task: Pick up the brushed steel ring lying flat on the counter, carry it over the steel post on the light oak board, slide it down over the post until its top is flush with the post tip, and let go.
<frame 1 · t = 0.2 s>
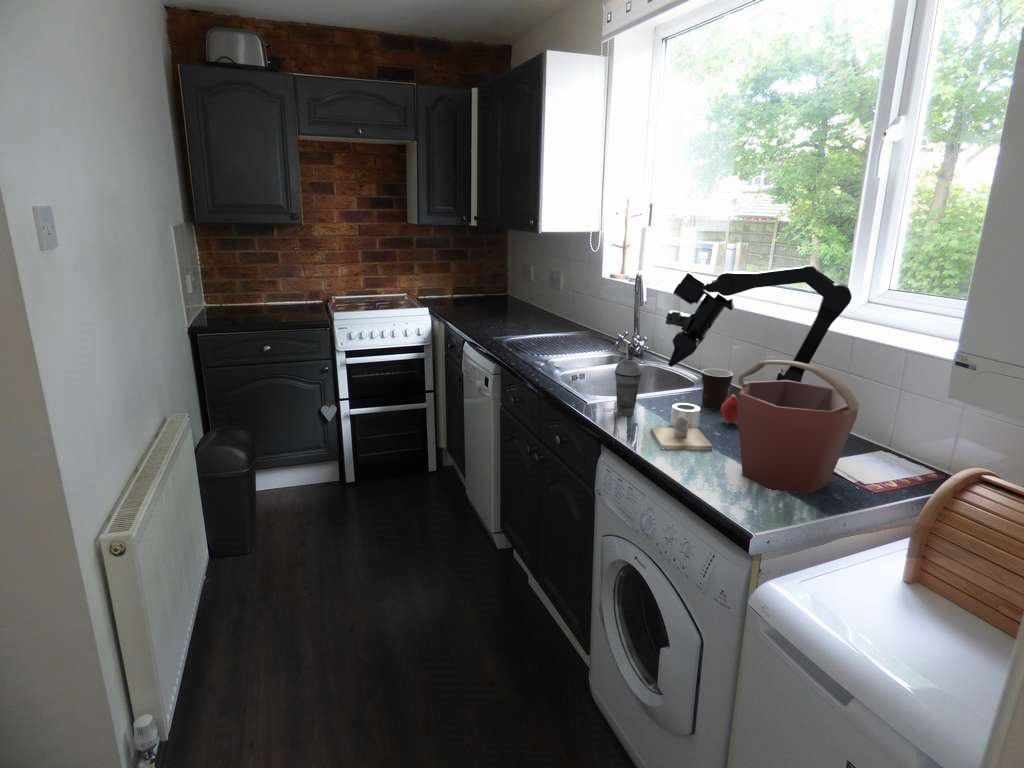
hand: (672, 362, 170), 15 cm above the worktop, tool tilted 30°, fingers open, 9 cm apart
bucket: (784, 476, 134), on the worktop
post board: (680, 440, 153), on the worktop
onion: (730, 424, 166), on the worktop
coffee mug: (715, 405, 182), on the worktop
beverage cup: (625, 413, 173), on the worktop
steel ring: (684, 425, 164), on the worktop
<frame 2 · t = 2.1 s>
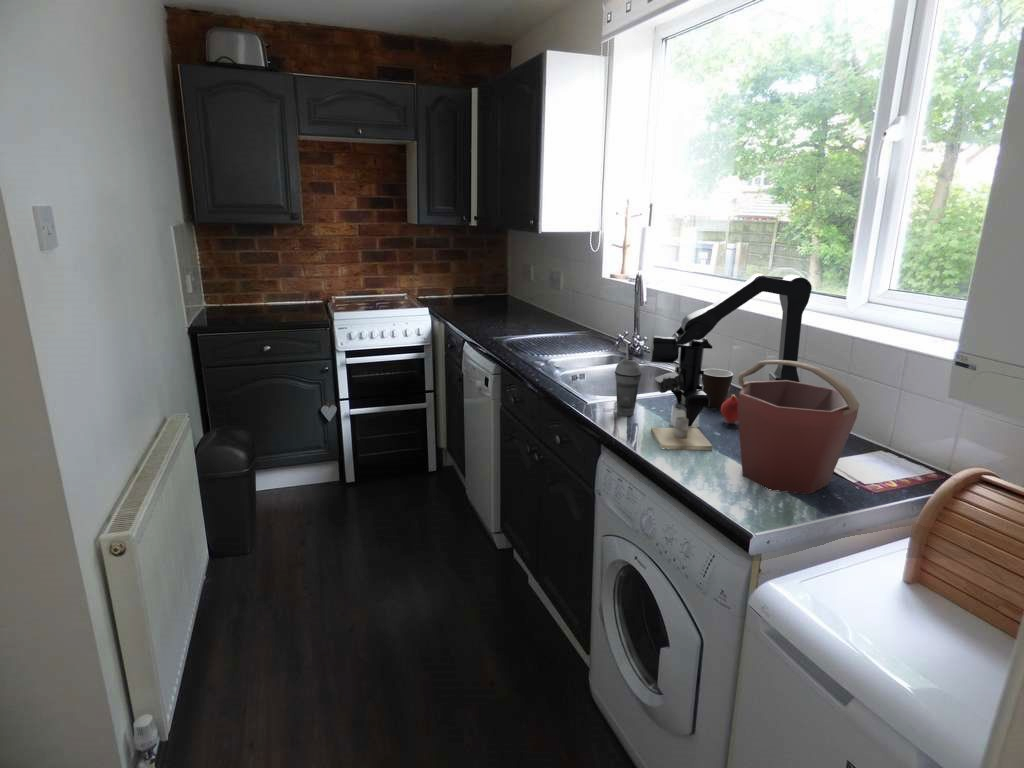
hand: (684, 421, 164), 1 cm above the worktop, tool pointing down, fingers closed on steel ring, 7 cm apart
steel ring: (684, 425, 164), on the worktop, touching gripper
everything else where it was.
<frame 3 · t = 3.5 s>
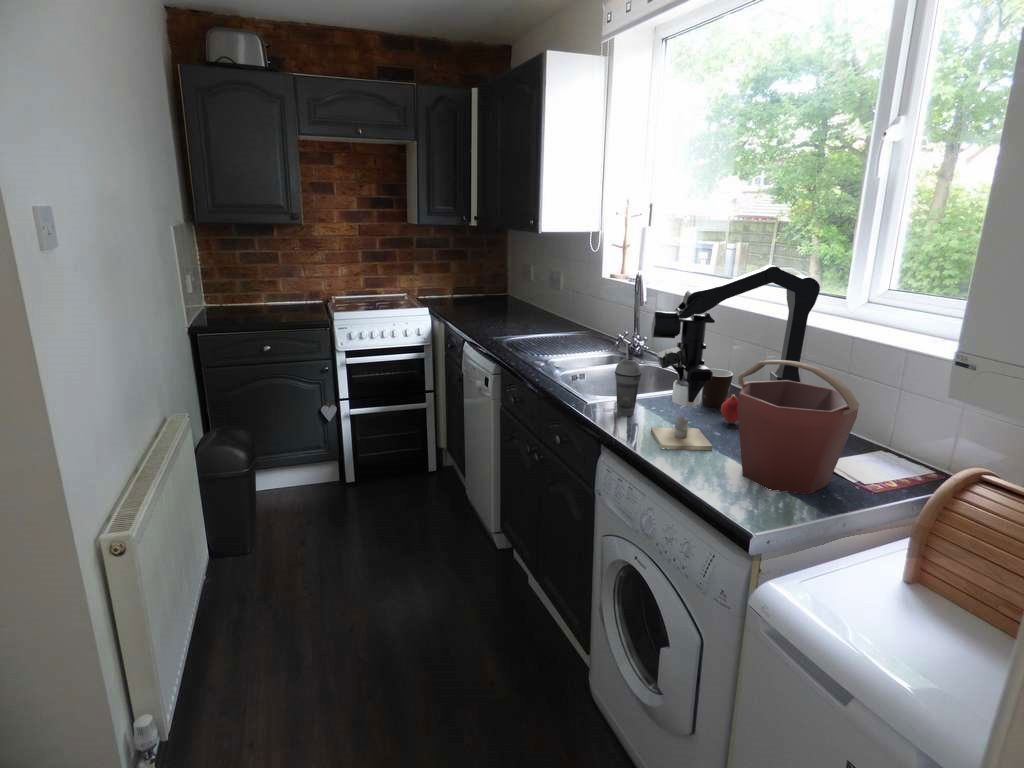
hand: (686, 397, 162), 8 cm above the worktop, tool pointing down, fingers closed on steel ring, 7 cm apart
steel ring: (686, 401, 162), point 7 cm above the worktop, touching gripper
everything else where it was.
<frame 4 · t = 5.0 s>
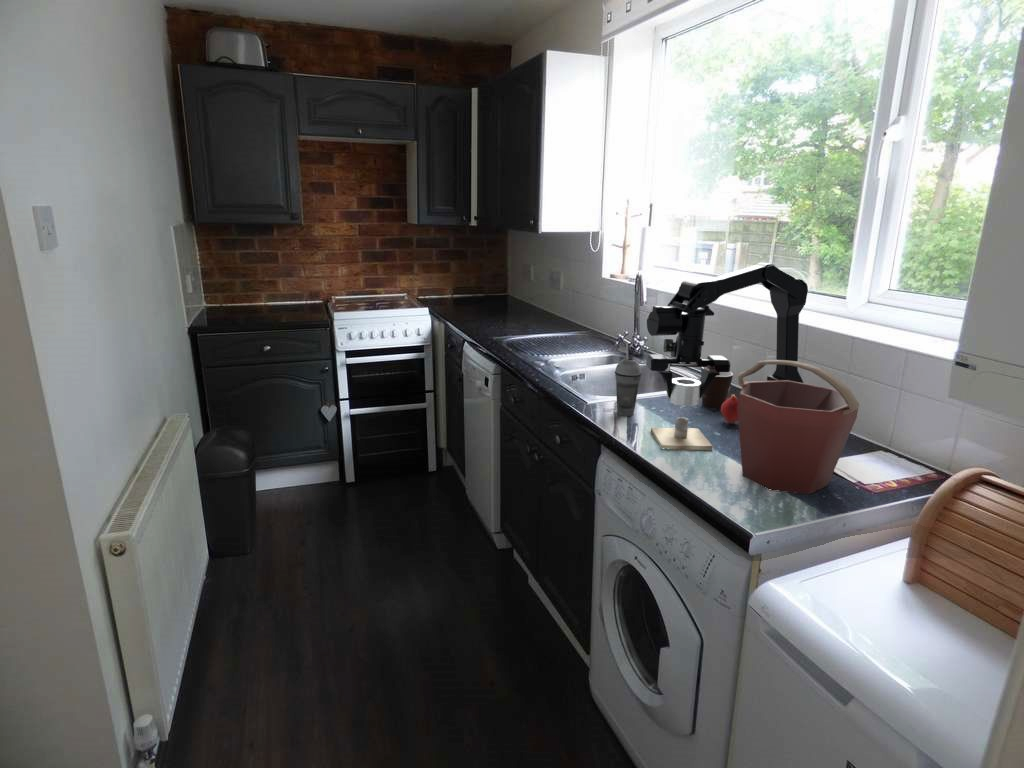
hand: (684, 397, 151), 11 cm above the worktop, tool pointing down, fingers closed on steel ring, 7 cm apart
steel ring: (683, 401, 151), point 10 cm above the worktop, touching gripper
everything else where it was.
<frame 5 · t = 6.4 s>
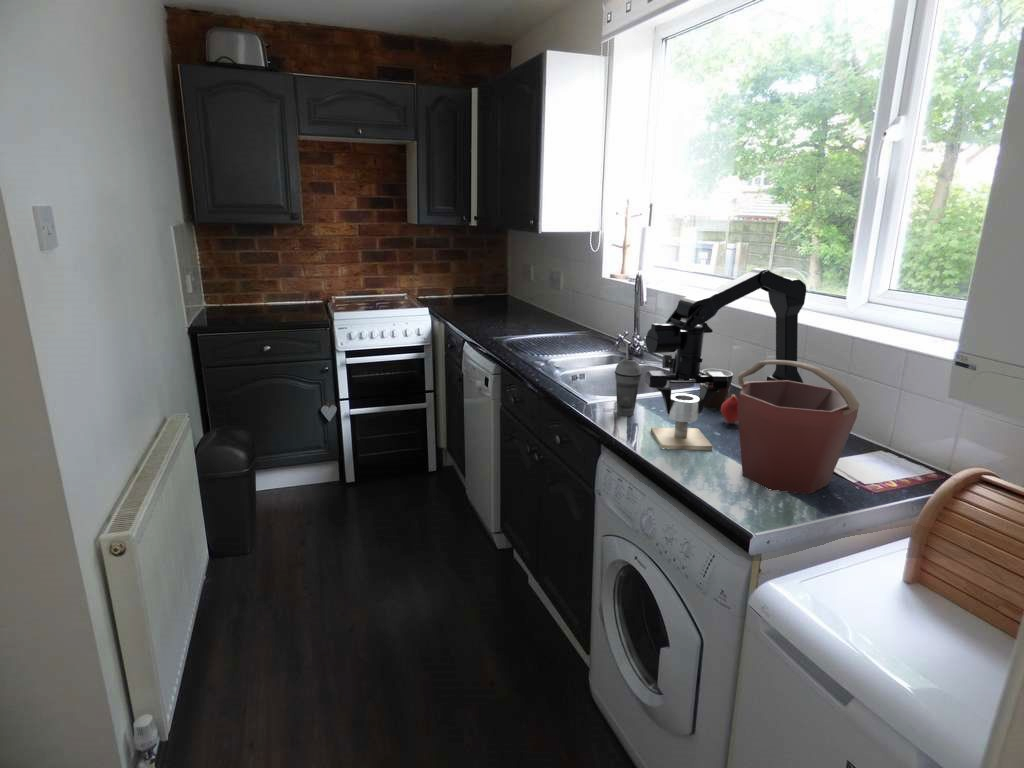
hand: (683, 413, 152), 7 cm above the worktop, tool pointing down, fingers closed on steel ring, 7 cm apart
steel ring: (682, 417, 152), point 6 cm above the worktop, touching gripper
everything else where it was.
when the fingers open (4 cm above the worktop, at t = 7.7 s): steel ring drops 2 cm, resting on post board.
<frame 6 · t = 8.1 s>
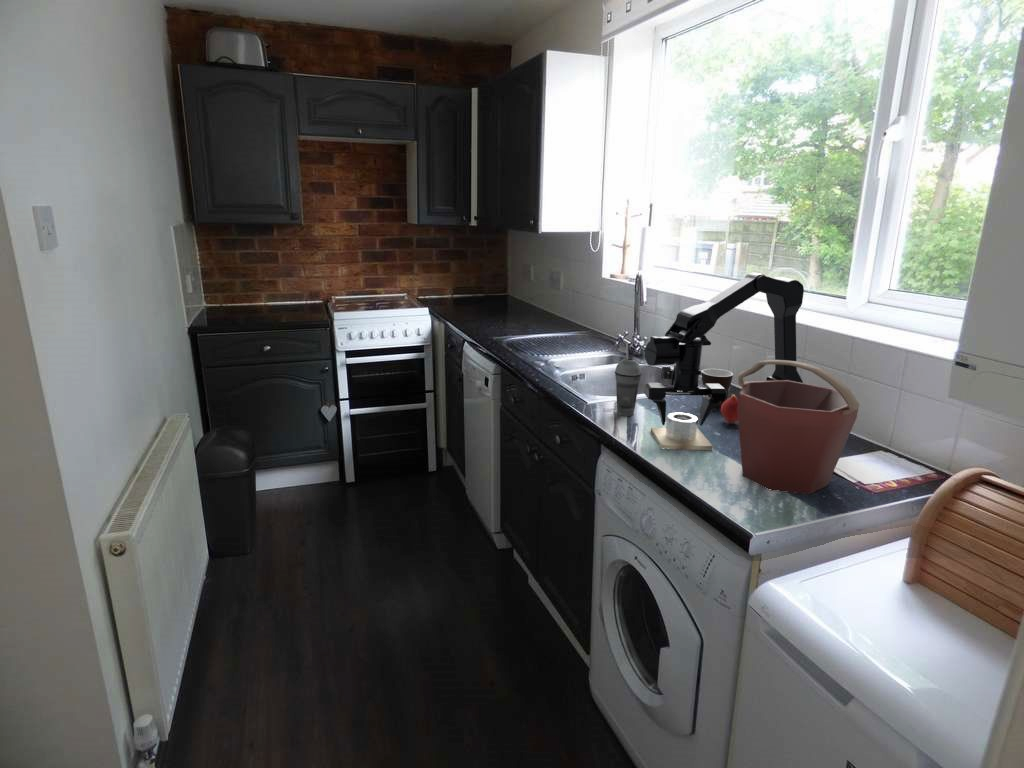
hand: (681, 425, 152), 4 cm above the worktop, tool pointing down, fingers open, 9 cm apart
steel ring: (680, 436, 153), point 1 cm above the worktop, touching post board
everything else where it was.
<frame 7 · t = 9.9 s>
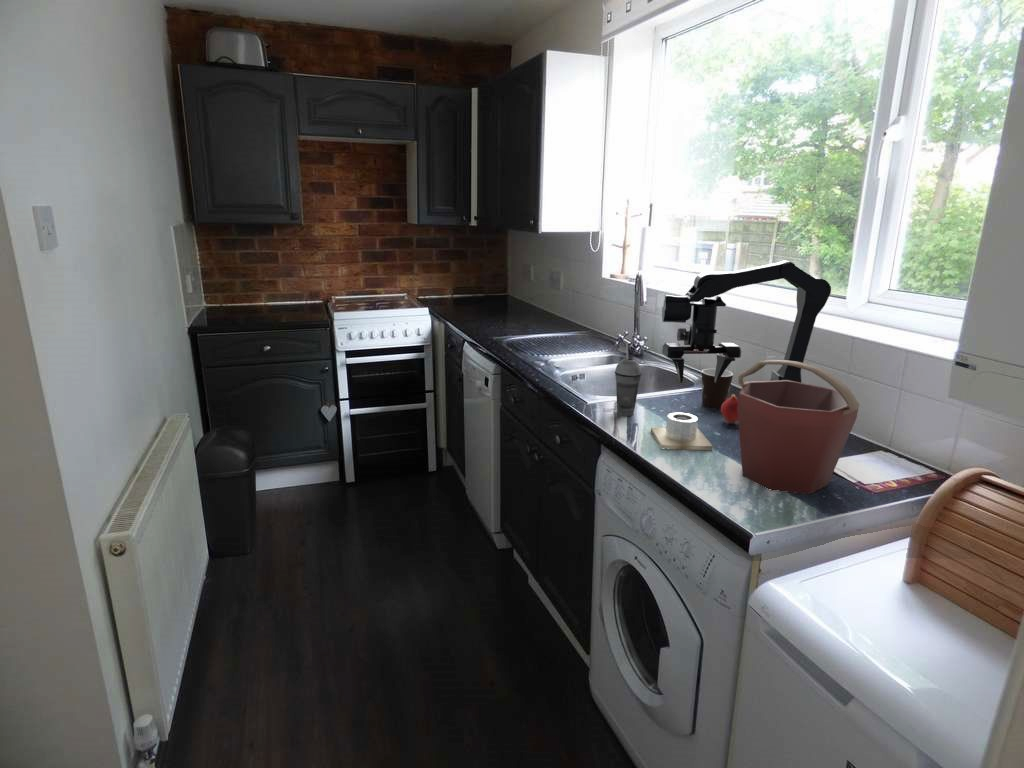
hand: (698, 382, 161), 12 cm above the worktop, tool pointing down, fingers open, 9 cm apart
nothing on the worktop moved.
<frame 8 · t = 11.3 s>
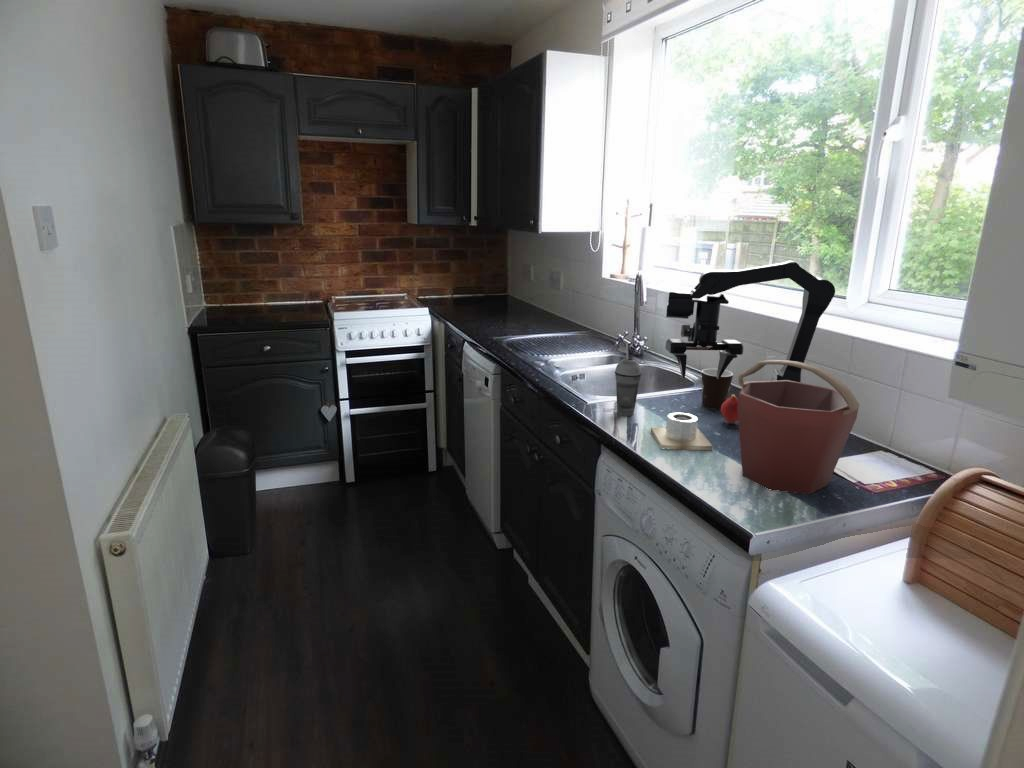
hand: (700, 378, 164), 12 cm above the worktop, tool pointing down, fingers open, 9 cm apart
nothing on the worktop moved.
at the end: steel ring 0.1 cm from the post board (horizontally); steel ring point 1.0 cm above the worktop; steel ring tilted 0° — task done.
